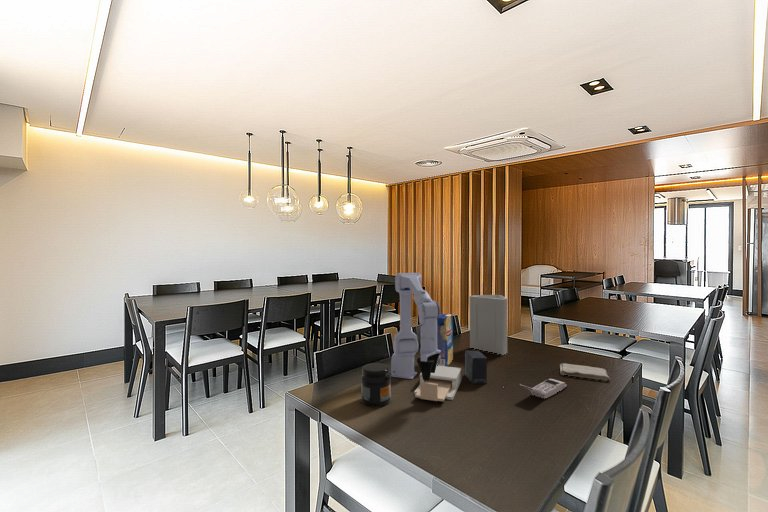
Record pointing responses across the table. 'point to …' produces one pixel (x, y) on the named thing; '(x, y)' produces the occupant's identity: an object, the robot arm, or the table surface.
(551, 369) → the table surface
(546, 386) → the mobile phone
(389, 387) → the supplement container
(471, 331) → the grey tall box
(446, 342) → the beverage box
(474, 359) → the small box
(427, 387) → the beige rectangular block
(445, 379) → the ticket dispenser
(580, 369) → the washcloth
